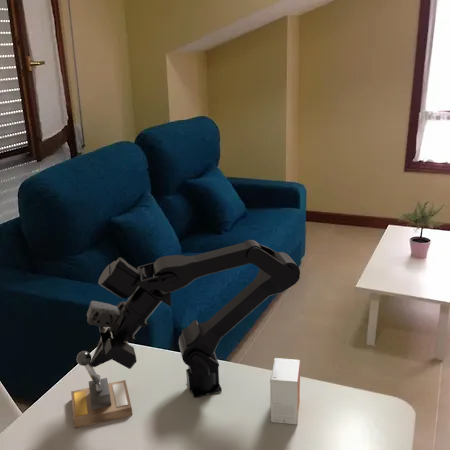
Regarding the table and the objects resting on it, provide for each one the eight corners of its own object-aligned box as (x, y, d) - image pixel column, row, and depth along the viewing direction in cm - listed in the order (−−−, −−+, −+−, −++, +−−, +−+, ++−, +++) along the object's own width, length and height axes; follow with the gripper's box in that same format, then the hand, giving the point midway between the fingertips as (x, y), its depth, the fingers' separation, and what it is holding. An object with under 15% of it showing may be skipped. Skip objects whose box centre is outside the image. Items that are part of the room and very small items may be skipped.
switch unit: (126, 387, 124) (123, 368, 122) (132, 414, 115) (130, 395, 113) (72, 398, 120) (69, 380, 119) (74, 428, 111) (71, 408, 110)
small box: (297, 425, 110) (298, 382, 106) (270, 422, 111) (269, 379, 107) (300, 400, 117) (300, 359, 114) (274, 398, 118) (274, 356, 115)
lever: (104, 375, 118) (86, 343, 114) (107, 389, 114) (88, 356, 110) (92, 382, 118) (73, 349, 114) (93, 395, 113) (74, 362, 110)
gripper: (102, 271, 118) (58, 325, 119) (111, 311, 101) (60, 373, 102) (142, 296, 122) (100, 348, 123) (157, 338, 106) (108, 398, 107)
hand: (92, 365), depth 114 cm, fingers closed, pressing on lever
